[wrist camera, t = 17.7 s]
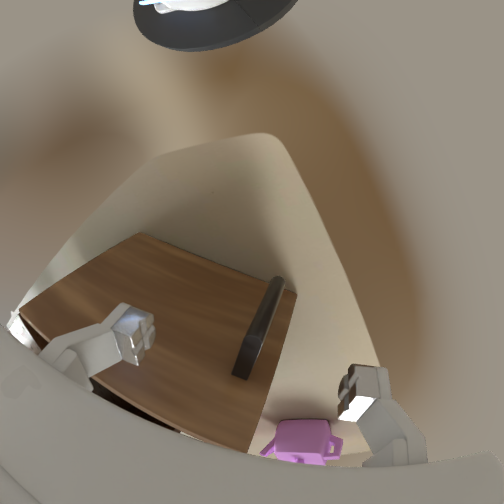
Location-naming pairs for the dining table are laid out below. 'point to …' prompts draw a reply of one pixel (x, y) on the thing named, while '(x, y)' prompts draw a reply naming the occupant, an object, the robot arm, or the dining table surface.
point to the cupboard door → (180, 334)
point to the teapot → (304, 442)
